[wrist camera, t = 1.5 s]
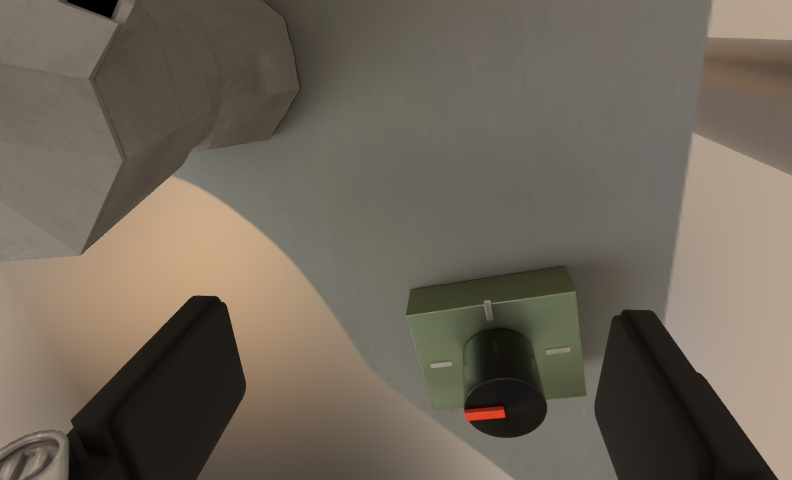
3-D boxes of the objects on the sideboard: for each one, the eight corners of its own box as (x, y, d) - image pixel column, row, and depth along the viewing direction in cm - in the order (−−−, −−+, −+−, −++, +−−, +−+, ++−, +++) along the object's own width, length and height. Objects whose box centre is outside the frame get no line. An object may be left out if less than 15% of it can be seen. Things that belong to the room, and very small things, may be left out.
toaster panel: (563, 261, 27) (576, 288, 25) (575, 367, 31) (587, 401, 28) (409, 285, 29) (404, 313, 27) (436, 382, 33) (434, 415, 30)
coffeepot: (261, -100, 21) (-367, -512, 5) (364, 81, 24) (182, 188, 8) (62, 70, 26) (-582, 141, 10) (169, 203, 29) (-189, 423, 13)
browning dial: (529, 324, 26) (543, 378, 22) (538, 380, 28) (552, 439, 24) (456, 333, 27) (456, 387, 23) (469, 387, 29) (471, 445, 25)
